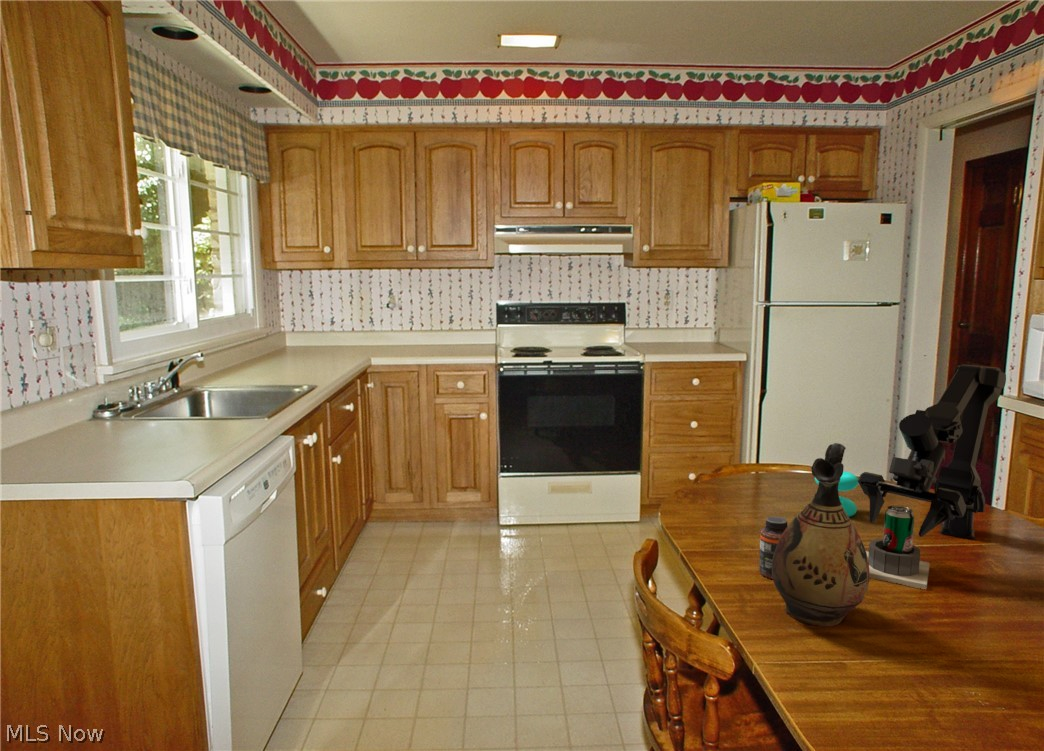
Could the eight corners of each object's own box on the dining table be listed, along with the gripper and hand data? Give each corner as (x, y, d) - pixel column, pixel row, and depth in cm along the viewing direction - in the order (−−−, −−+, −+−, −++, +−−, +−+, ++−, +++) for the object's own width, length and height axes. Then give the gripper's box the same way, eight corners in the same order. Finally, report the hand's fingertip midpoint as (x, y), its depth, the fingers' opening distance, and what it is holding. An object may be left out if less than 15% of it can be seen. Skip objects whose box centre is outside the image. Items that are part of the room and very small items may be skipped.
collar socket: (863, 554, 142) (864, 532, 142) (929, 567, 136) (931, 543, 135) (855, 575, 132) (857, 550, 132) (926, 589, 126) (928, 564, 125)
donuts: (811, 475, 166) (818, 466, 174) (809, 514, 167) (816, 503, 176) (856, 481, 161) (861, 471, 169) (853, 521, 162) (858, 510, 170)
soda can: (907, 574, 130) (912, 515, 129) (878, 567, 133) (882, 509, 132) (912, 566, 134) (917, 508, 132) (884, 559, 137) (888, 503, 136)
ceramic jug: (861, 646, 106) (874, 463, 102) (761, 621, 114) (768, 450, 110) (871, 603, 121) (882, 440, 117) (781, 583, 129) (788, 431, 125)
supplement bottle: (790, 570, 135) (792, 516, 133) (791, 582, 129) (794, 526, 128) (758, 566, 137) (761, 513, 135) (758, 578, 131) (761, 522, 130)
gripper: (864, 434, 141) (835, 495, 136) (965, 451, 126) (937, 520, 121) (879, 464, 147) (852, 524, 141) (977, 483, 132) (951, 551, 127)
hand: (894, 528), depth 133 cm, fingers open, 9 cm apart
